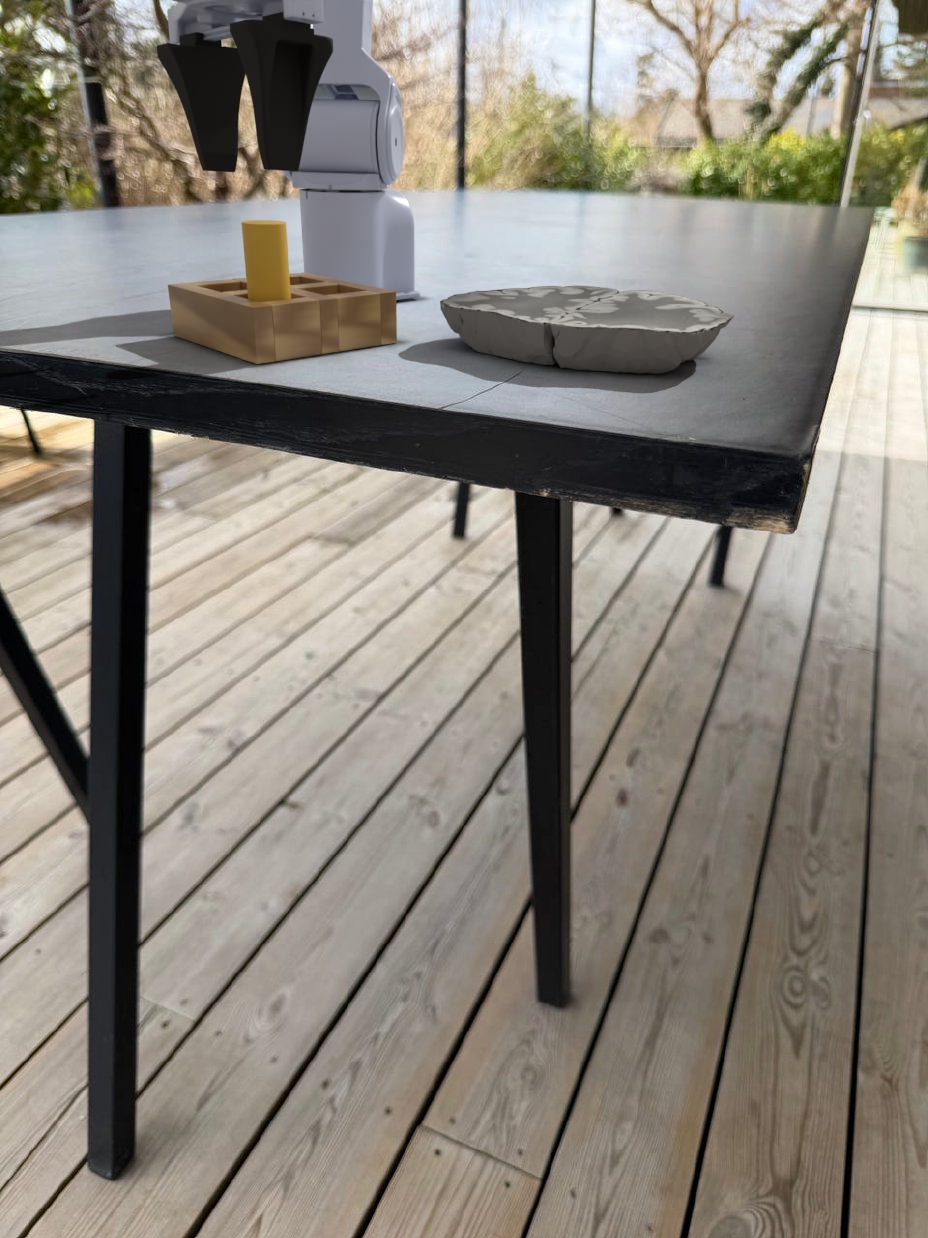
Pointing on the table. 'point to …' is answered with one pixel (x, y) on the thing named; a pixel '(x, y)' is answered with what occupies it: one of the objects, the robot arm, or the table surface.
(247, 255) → the yellow peg
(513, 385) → the table surface
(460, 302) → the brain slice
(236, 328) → the stand
